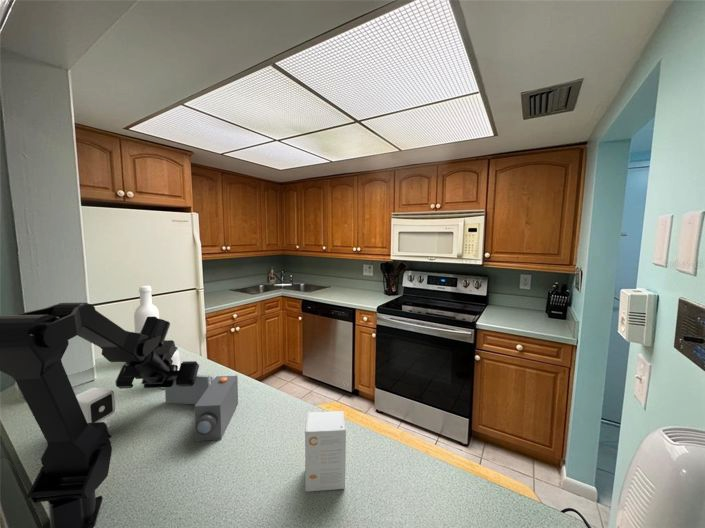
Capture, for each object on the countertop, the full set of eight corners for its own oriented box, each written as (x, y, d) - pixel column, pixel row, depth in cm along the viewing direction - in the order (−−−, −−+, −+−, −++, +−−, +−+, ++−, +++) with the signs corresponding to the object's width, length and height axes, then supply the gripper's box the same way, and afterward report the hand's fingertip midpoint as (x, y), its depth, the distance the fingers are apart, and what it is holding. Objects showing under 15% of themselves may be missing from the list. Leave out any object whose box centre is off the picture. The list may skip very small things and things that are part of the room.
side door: (212, 401, 85) (211, 374, 84) (208, 405, 83) (207, 377, 82) (170, 398, 86) (168, 371, 85) (165, 402, 84) (164, 374, 83)
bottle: (159, 356, 115) (155, 283, 112) (164, 362, 110) (160, 286, 107) (134, 362, 109) (129, 286, 106) (138, 369, 104) (133, 289, 101)
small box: (343, 464, 63) (344, 410, 62) (345, 490, 57) (346, 429, 56) (306, 466, 63) (306, 411, 61) (304, 492, 56) (304, 431, 55)
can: (159, 381, 96) (157, 347, 95) (181, 377, 99) (180, 344, 98) (155, 391, 90) (153, 355, 89) (179, 387, 93) (177, 352, 92)
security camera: (90, 442, 68) (86, 403, 67) (67, 437, 70) (63, 399, 68) (116, 425, 74) (114, 389, 73) (95, 421, 76) (92, 385, 75)
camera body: (218, 446, 68) (216, 407, 67) (184, 448, 67) (182, 409, 66) (238, 403, 85) (237, 372, 84) (212, 404, 84) (211, 372, 83)
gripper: (196, 334, 78) (210, 356, 90) (121, 335, 75) (146, 358, 87) (184, 375, 71) (201, 393, 83) (100, 378, 68) (130, 396, 80)
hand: (170, 384), depth 83 cm, fingers closed, pressing on side door
